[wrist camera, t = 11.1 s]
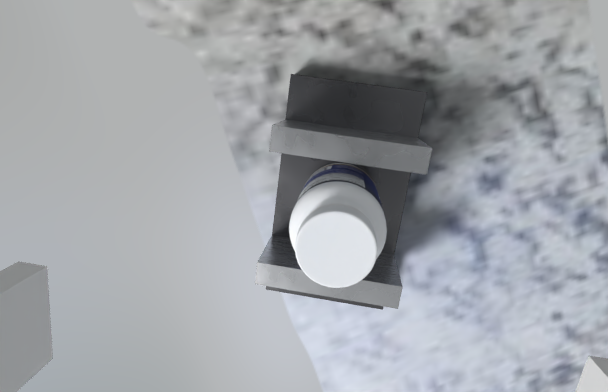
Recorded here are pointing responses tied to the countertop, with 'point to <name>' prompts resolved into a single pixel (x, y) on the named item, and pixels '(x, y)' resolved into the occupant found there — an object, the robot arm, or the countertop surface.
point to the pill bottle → (338, 226)
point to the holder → (351, 150)
